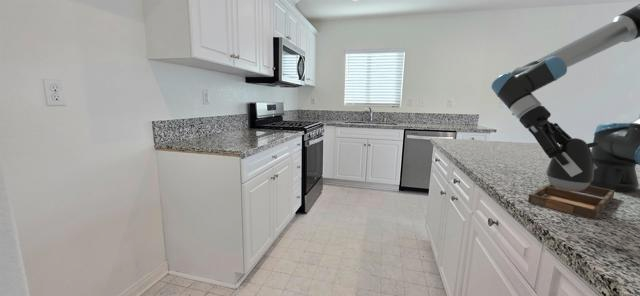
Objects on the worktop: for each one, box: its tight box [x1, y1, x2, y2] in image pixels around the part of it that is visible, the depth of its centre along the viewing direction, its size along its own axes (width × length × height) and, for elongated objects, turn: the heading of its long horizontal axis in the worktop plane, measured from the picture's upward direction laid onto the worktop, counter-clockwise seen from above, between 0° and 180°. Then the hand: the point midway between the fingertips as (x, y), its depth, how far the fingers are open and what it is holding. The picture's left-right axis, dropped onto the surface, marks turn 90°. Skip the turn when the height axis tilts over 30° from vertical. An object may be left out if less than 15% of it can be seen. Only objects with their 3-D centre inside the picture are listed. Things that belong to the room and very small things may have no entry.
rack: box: [527, 182, 616, 221], centre depth 84 cm, size 29×15×2 cm, turn 126°
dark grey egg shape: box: [545, 137, 598, 193], centre depth 79 cm, size 10×10×15 cm
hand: (584, 172), depth 76 cm, fingers closed on dark grey egg shape, 9 cm apart
